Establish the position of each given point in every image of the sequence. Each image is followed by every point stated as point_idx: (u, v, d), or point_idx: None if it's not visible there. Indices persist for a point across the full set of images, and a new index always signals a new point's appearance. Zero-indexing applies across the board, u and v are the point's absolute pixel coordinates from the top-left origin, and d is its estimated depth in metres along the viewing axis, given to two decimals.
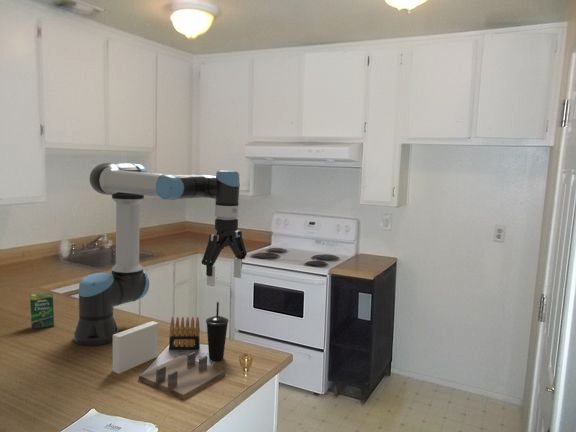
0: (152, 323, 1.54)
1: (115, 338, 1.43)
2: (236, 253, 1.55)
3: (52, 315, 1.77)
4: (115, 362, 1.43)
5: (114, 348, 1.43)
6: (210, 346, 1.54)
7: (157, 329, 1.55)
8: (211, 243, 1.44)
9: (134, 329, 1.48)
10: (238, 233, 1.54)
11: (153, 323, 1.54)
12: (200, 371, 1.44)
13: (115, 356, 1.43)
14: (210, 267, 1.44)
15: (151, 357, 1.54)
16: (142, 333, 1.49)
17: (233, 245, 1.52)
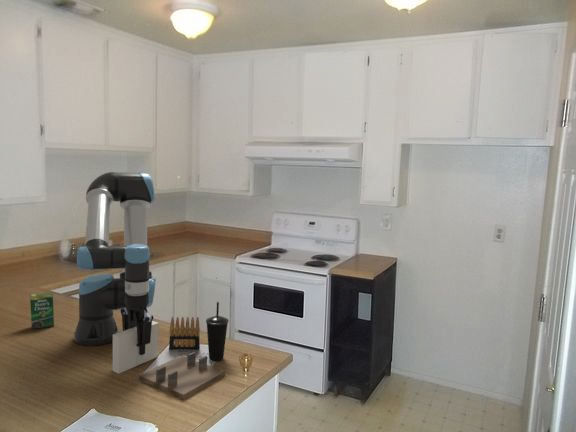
0: (152, 323, 1.54)
1: (115, 338, 1.43)
2: None
3: (52, 315, 1.77)
4: (115, 362, 1.43)
5: (114, 348, 1.43)
6: (210, 346, 1.54)
7: (157, 329, 1.55)
8: None
9: (134, 329, 1.48)
10: None
11: (153, 323, 1.54)
12: (200, 371, 1.44)
13: (115, 356, 1.43)
14: None
15: (151, 357, 1.54)
16: None
17: None
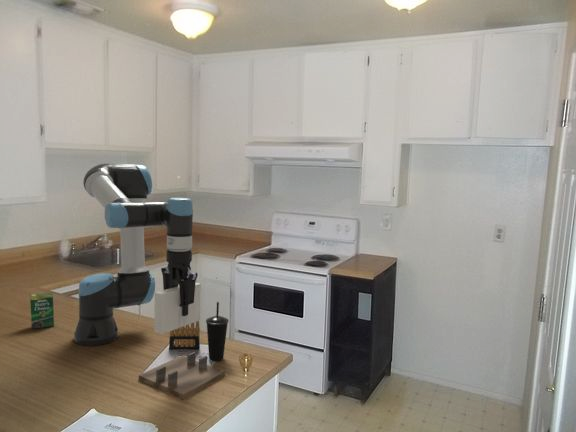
0: None
1: (157, 296, 1.33)
2: None
3: (52, 315, 1.77)
4: (157, 322, 1.34)
5: (156, 307, 1.33)
6: (210, 346, 1.54)
7: (199, 290, 1.45)
8: None
9: (176, 288, 1.39)
10: None
11: (195, 283, 1.45)
12: (200, 371, 1.44)
13: (157, 315, 1.33)
14: None
15: (193, 320, 1.44)
16: None
17: None
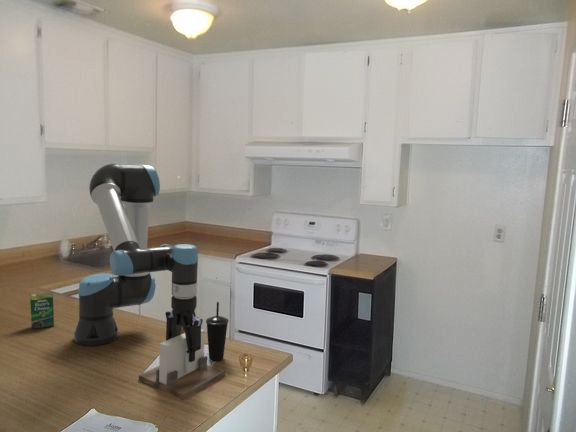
0: None
1: (162, 347, 1.34)
2: None
3: (52, 315, 1.77)
4: (162, 372, 1.35)
5: (161, 357, 1.35)
6: (210, 346, 1.54)
7: (203, 336, 1.47)
8: None
9: (181, 337, 1.40)
10: None
11: None
12: (200, 371, 1.44)
13: (162, 365, 1.35)
14: None
15: (197, 366, 1.46)
16: None
17: None
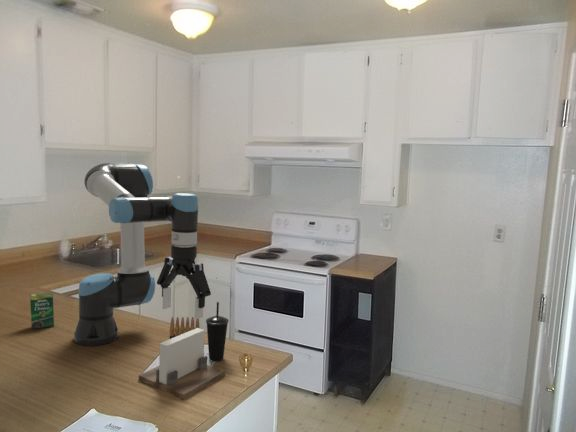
0: (198, 330, 1.46)
1: (162, 347, 1.34)
2: None
3: (52, 315, 1.77)
4: (162, 372, 1.35)
5: (161, 357, 1.35)
6: (210, 346, 1.54)
7: (203, 336, 1.47)
8: None
9: (181, 337, 1.40)
10: None
11: (199, 330, 1.46)
12: (200, 371, 1.44)
13: (162, 365, 1.35)
14: (162, 288, 1.43)
15: (197, 366, 1.46)
16: (189, 341, 1.41)
17: None
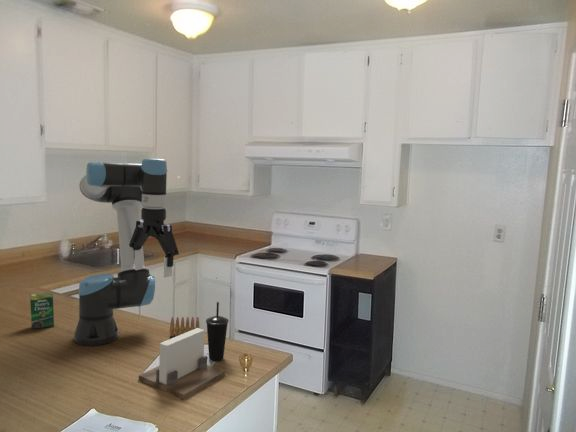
0: (198, 330, 1.46)
1: (162, 347, 1.34)
2: None
3: (52, 315, 1.77)
4: (162, 372, 1.35)
5: (161, 357, 1.35)
6: (210, 346, 1.54)
7: (203, 336, 1.47)
8: None
9: (181, 337, 1.40)
10: None
11: (199, 330, 1.46)
12: (200, 371, 1.44)
13: (162, 365, 1.35)
14: (134, 250, 1.50)
15: (197, 366, 1.46)
16: (189, 341, 1.41)
17: None
